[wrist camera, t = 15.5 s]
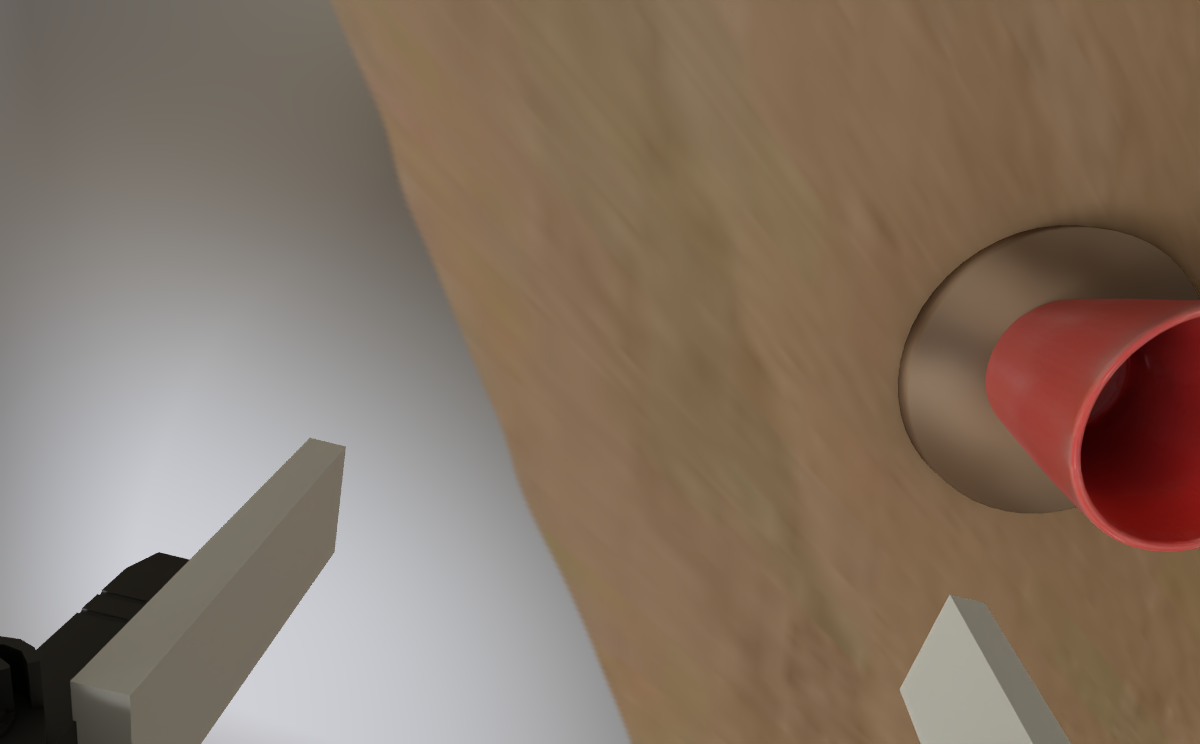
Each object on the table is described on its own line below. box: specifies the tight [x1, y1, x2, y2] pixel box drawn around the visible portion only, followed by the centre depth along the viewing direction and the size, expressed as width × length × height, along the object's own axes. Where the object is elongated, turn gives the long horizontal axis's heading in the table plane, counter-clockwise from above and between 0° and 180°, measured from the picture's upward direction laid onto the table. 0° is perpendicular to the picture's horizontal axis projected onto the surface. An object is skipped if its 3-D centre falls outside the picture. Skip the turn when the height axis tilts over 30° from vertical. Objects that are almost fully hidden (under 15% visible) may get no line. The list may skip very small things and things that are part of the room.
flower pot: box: [985, 299, 1200, 551], centre depth 34 cm, size 11×11×10 cm
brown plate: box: [898, 226, 1200, 513], centre depth 40 cm, size 16×16×2 cm
